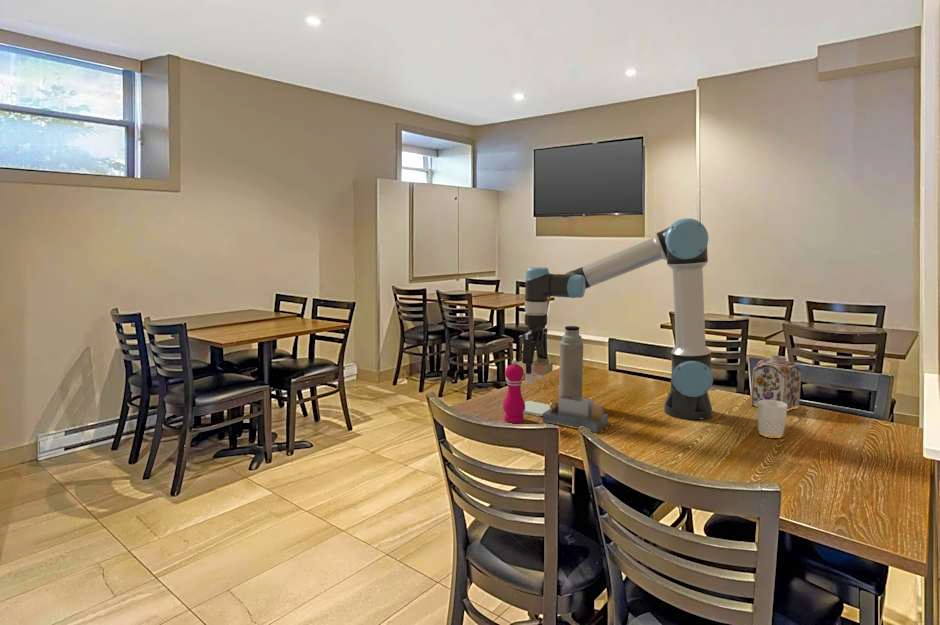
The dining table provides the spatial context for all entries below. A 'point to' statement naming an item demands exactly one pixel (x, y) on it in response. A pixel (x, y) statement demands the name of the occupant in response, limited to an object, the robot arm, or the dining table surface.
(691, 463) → the dining table surface
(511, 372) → the pepper mill
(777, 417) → the white cup
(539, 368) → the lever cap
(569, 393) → the thermos bottle
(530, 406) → the rubber mat
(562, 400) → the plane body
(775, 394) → the decorative jar
